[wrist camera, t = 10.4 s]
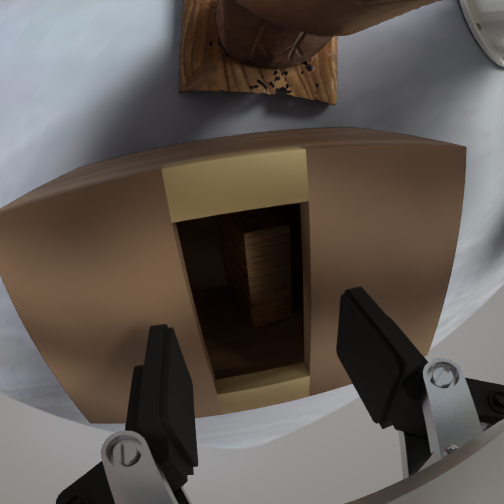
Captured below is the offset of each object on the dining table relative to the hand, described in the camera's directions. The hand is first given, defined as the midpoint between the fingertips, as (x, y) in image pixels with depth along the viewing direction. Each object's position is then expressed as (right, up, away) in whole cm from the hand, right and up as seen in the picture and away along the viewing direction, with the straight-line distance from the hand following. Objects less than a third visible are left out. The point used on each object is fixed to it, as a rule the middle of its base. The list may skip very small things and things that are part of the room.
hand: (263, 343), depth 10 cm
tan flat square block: (0, 0, +10) cm, 10 cm away
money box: (-2, +6, +12) cm, 14 cm away
